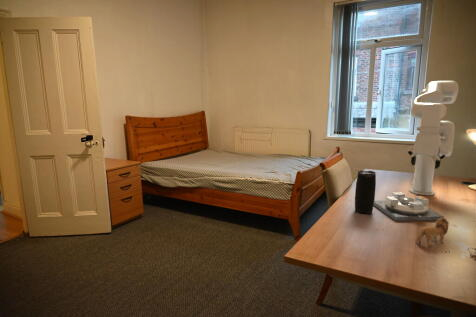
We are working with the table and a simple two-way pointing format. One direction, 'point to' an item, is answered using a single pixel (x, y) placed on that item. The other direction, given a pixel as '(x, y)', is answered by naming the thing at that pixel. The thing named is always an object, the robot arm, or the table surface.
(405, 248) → the table surface
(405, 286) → the table surface
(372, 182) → the portable speaker
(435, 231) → the lion figurine
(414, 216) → the grey square base plate
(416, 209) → the silver hub plate
